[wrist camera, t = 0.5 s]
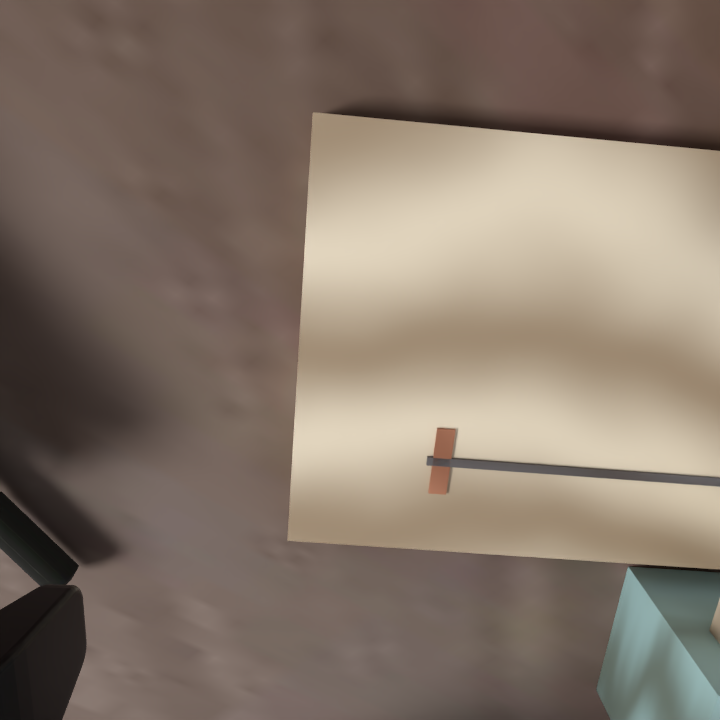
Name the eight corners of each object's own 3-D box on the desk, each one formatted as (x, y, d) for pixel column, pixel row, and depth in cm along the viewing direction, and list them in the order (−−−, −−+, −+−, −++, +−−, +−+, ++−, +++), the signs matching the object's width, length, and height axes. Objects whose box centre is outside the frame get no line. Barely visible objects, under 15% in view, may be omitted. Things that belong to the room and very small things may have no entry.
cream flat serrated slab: (813, 557, 23) (839, 579, 22) (290, 521, 22) (287, 542, 21) (952, 176, 19) (994, 176, 18) (315, 115, 18) (312, 112, 17)
